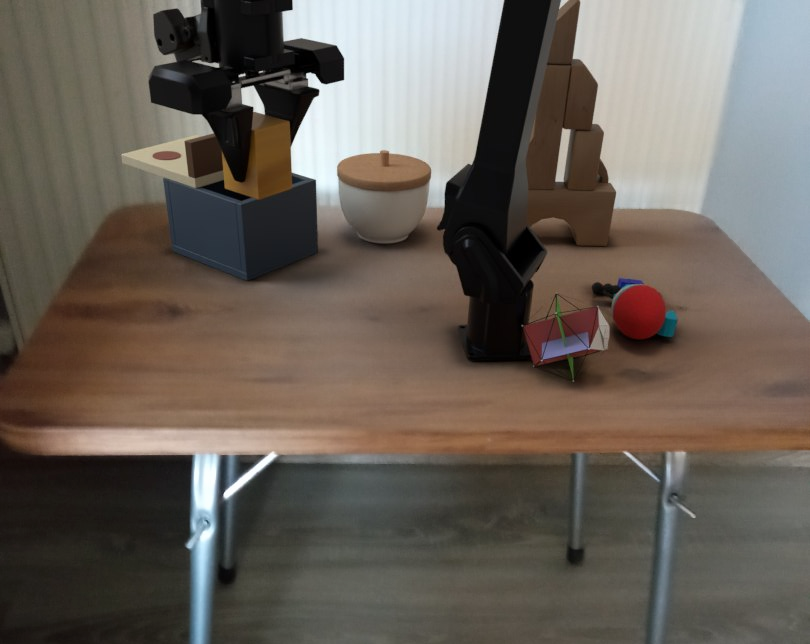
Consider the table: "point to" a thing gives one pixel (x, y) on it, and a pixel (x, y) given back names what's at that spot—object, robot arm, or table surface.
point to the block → (265, 159)
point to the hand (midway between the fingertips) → (258, 175)
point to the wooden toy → (584, 171)
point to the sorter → (243, 226)
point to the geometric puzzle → (567, 336)
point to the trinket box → (383, 194)
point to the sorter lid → (182, 160)
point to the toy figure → (638, 309)
